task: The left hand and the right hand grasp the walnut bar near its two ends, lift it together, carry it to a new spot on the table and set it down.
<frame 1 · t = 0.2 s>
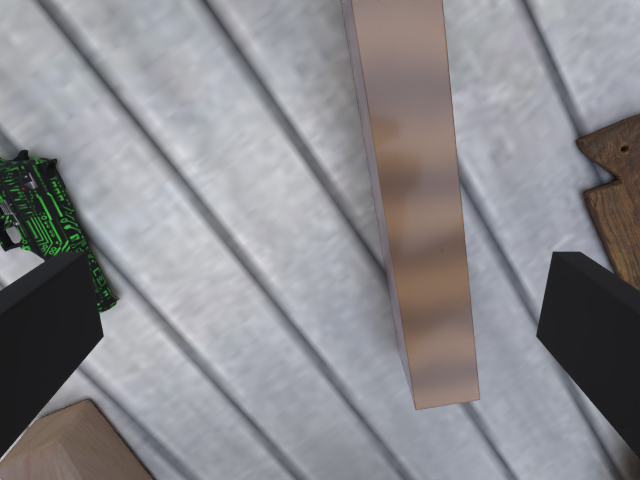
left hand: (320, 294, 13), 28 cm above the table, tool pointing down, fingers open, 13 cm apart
decorative block: (102, 453, 50), on the table
handgun: (23, 235, 41), on the table
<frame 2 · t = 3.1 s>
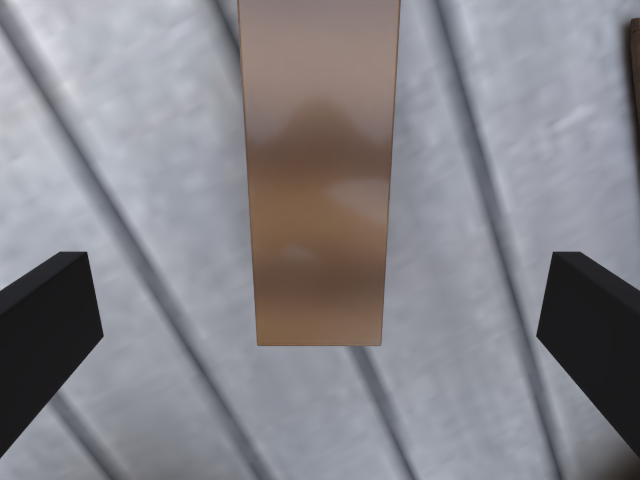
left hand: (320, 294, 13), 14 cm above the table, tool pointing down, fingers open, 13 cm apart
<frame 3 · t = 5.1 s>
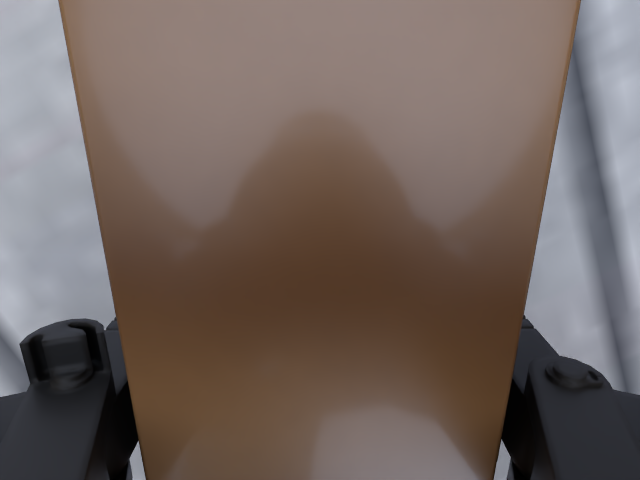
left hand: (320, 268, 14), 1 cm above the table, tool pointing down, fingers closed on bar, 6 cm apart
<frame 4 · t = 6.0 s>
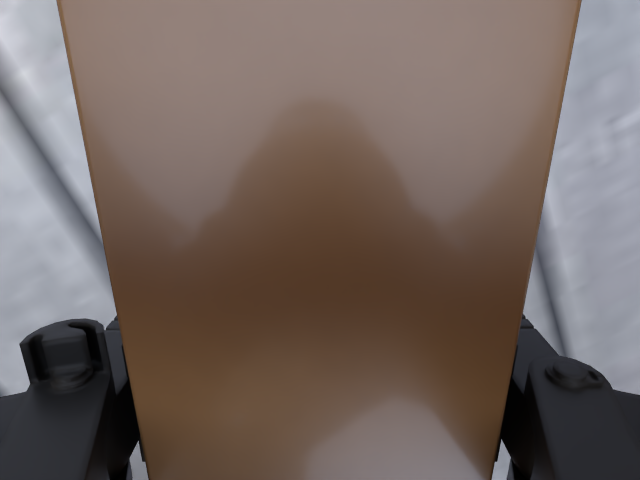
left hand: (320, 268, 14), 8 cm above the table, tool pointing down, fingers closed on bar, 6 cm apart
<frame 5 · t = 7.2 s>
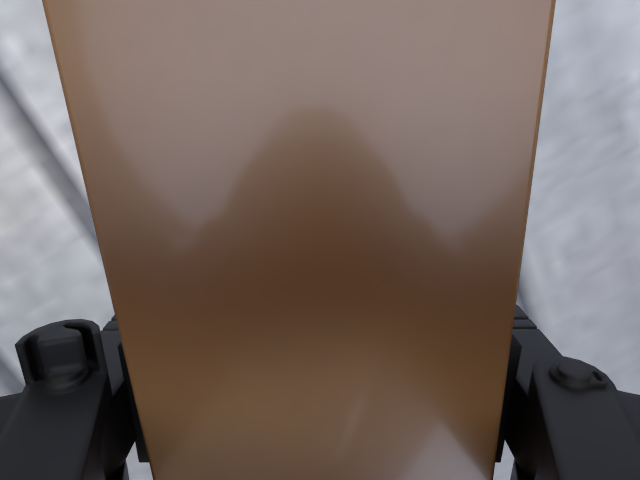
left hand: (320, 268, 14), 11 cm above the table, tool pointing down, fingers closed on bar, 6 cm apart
when the left hand's fingers open (2 cm above the table, at t = 9.3 s): bar stays where it is, on the table.
when the right hand's fingers open (2 cm above the table, at t = 9.3 s): bar stays where it is, on the table.
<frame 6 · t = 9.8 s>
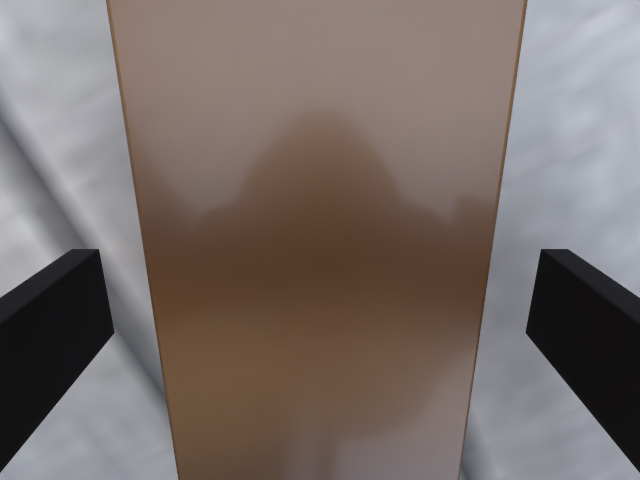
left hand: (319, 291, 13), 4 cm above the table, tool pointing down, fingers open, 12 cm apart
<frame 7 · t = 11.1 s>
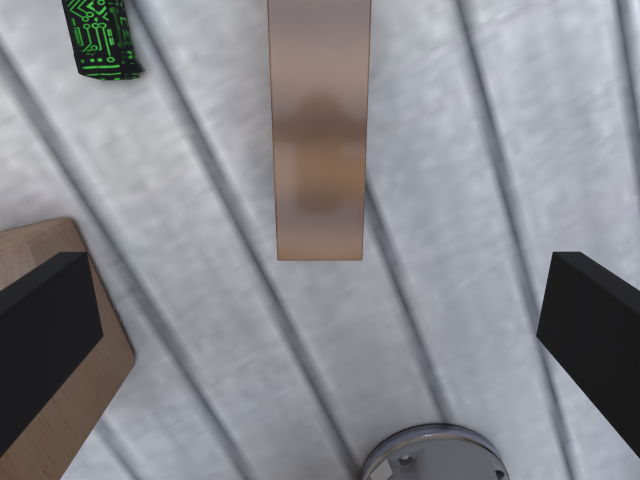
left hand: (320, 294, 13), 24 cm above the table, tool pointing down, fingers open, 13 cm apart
decorative block: (71, 299, 39), on the table
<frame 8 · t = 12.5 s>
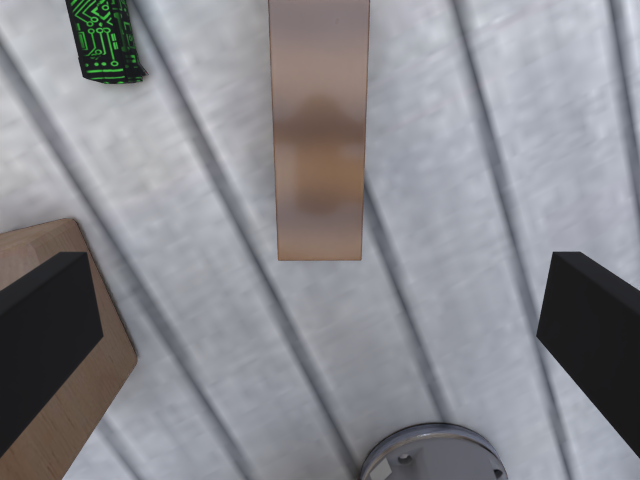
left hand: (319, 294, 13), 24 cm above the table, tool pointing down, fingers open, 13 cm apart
decorative block: (74, 299, 40), on the table
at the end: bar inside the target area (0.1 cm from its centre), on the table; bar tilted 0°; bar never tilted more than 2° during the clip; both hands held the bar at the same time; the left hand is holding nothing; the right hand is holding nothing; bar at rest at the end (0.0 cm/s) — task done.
